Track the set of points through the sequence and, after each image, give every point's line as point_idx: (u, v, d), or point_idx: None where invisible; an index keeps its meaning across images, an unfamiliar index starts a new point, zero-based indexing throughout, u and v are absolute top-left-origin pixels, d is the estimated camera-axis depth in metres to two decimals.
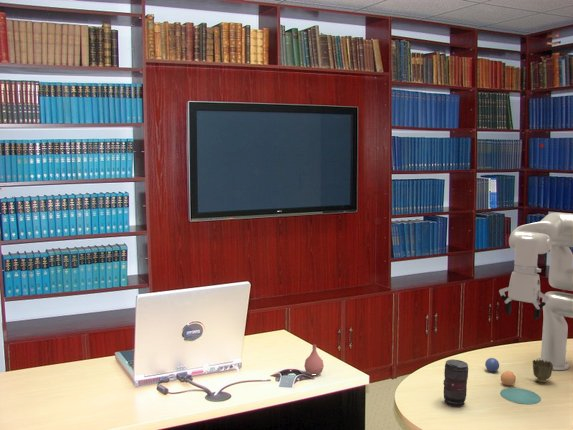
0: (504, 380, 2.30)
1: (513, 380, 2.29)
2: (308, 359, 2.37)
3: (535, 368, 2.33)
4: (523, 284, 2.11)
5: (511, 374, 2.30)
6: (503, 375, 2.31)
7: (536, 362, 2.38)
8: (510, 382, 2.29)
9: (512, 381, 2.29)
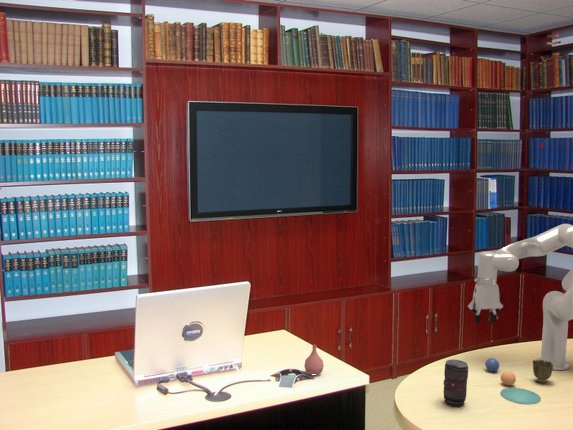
0: (504, 380, 2.30)
1: (513, 380, 2.29)
2: (308, 359, 2.37)
3: (535, 368, 2.33)
4: None
5: (511, 374, 2.30)
6: (503, 375, 2.31)
7: (536, 362, 2.38)
8: (510, 382, 2.29)
9: (512, 381, 2.29)
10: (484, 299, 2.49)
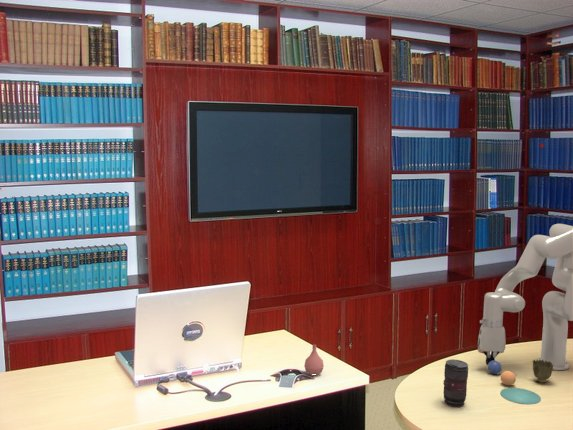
0: (504, 380, 2.30)
1: (513, 380, 2.29)
2: (308, 359, 2.37)
3: (535, 368, 2.33)
4: None
5: (511, 374, 2.30)
6: (503, 375, 2.31)
7: (536, 362, 2.38)
8: (510, 382, 2.29)
9: (512, 381, 2.29)
10: (489, 341, 2.43)
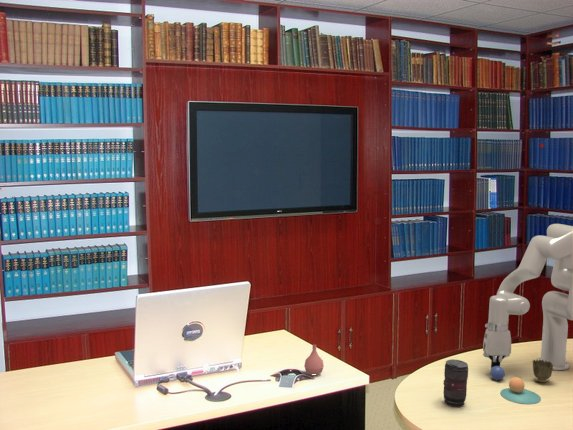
0: (509, 386, 2.26)
1: None
2: (308, 359, 2.37)
3: (535, 368, 2.33)
4: None
5: None
6: (511, 389, 2.24)
7: (536, 362, 2.38)
8: None
9: None
10: (495, 345, 2.38)
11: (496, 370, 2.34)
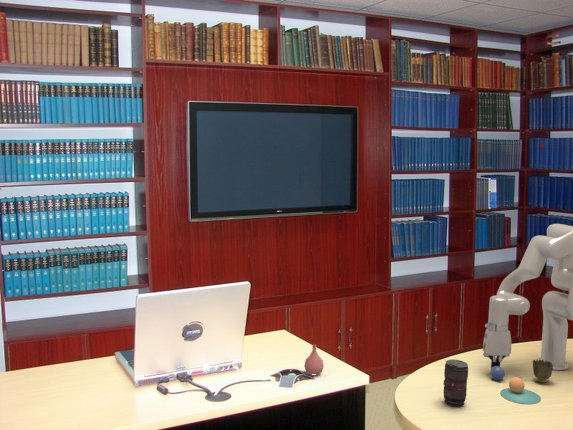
0: (509, 386, 2.26)
1: None
2: (308, 359, 2.37)
3: (535, 368, 2.33)
4: None
5: None
6: (511, 389, 2.24)
7: (536, 362, 2.38)
8: None
9: None
10: (495, 345, 2.38)
11: (496, 370, 2.34)
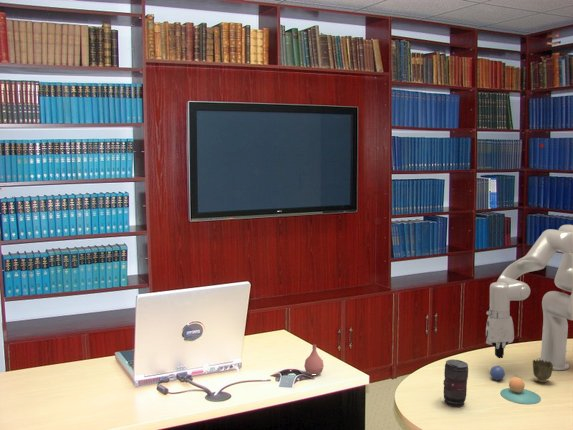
0: (509, 386, 2.26)
1: None
2: (308, 359, 2.37)
3: (535, 368, 2.33)
4: None
5: None
6: (511, 389, 2.24)
7: (536, 362, 2.38)
8: None
9: None
10: (498, 332, 2.38)
11: (496, 370, 2.34)
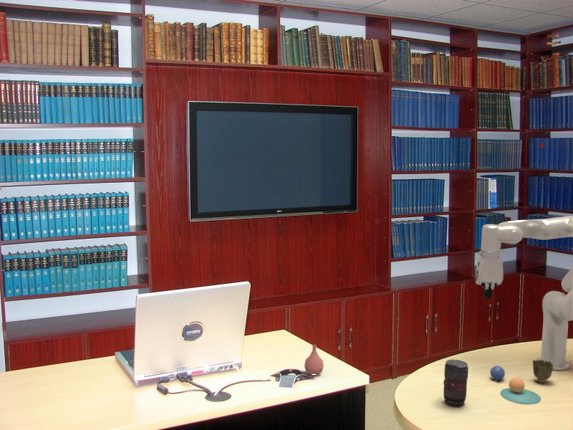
0: (509, 386, 2.26)
1: None
2: (308, 359, 2.37)
3: (535, 368, 2.33)
4: None
5: None
6: (511, 389, 2.24)
7: (536, 362, 2.38)
8: None
9: None
10: (487, 272, 2.44)
11: (496, 370, 2.34)
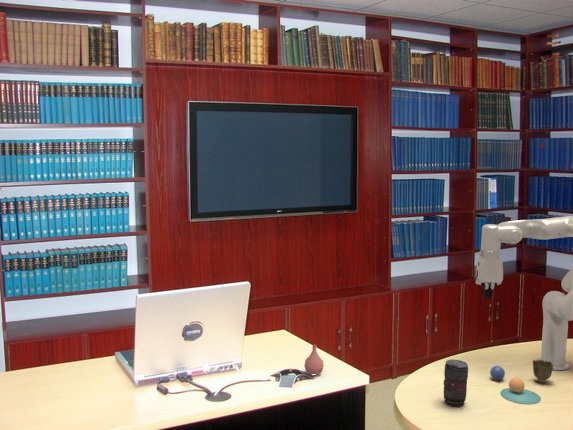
0: (509, 386, 2.26)
1: None
2: (308, 359, 2.37)
3: (535, 368, 2.33)
4: None
5: None
6: (511, 389, 2.24)
7: (536, 362, 2.38)
8: None
9: None
10: (487, 272, 2.44)
11: (496, 370, 2.34)
